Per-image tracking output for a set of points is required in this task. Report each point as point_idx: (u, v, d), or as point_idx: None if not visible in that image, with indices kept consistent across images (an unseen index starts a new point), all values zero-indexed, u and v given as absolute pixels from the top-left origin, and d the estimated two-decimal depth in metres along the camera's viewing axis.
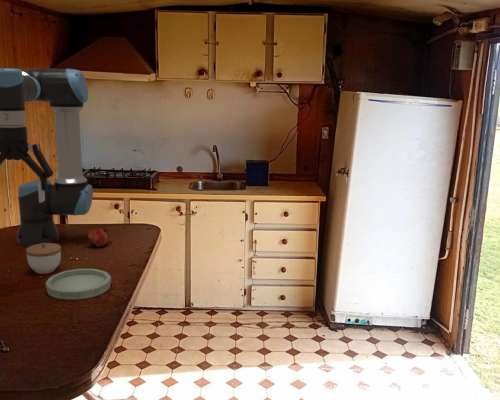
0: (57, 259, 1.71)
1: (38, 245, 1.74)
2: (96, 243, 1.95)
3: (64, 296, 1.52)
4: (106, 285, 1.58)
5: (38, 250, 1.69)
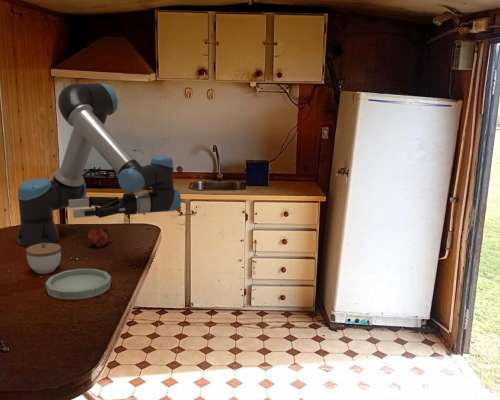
0: (57, 259, 1.71)
1: (38, 245, 1.74)
2: (96, 243, 1.95)
3: (64, 296, 1.52)
4: (106, 285, 1.58)
5: (38, 250, 1.69)
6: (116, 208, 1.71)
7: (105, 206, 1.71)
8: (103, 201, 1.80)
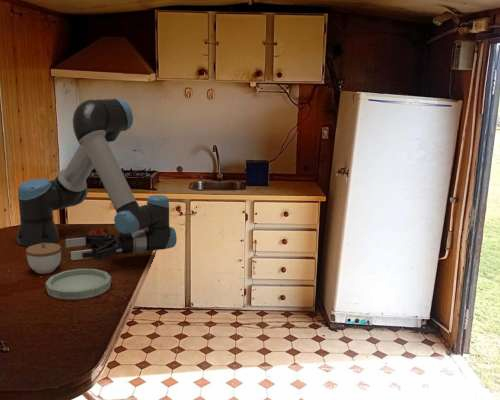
0: (57, 259, 1.71)
1: (38, 245, 1.74)
2: None
3: (64, 296, 1.52)
4: (106, 285, 1.58)
5: (38, 250, 1.69)
6: (113, 249, 1.74)
7: (102, 247, 1.74)
8: (100, 240, 1.83)
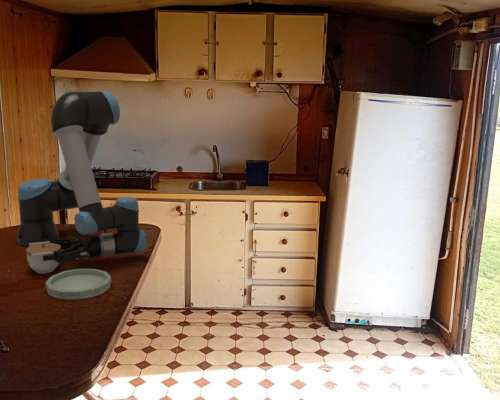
0: None
1: (38, 245, 1.74)
2: None
3: (64, 296, 1.52)
4: (106, 285, 1.58)
5: (38, 250, 1.69)
6: (77, 252, 1.70)
7: (65, 250, 1.70)
8: (66, 244, 1.78)
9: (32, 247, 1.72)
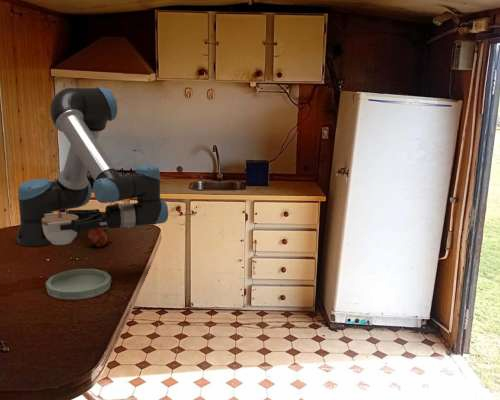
0: None
1: (54, 215, 1.63)
2: (96, 243, 1.95)
3: (64, 296, 1.52)
4: (106, 285, 1.58)
5: (55, 220, 1.58)
6: (96, 222, 1.59)
7: (84, 220, 1.59)
8: (84, 214, 1.67)
9: (48, 217, 1.61)
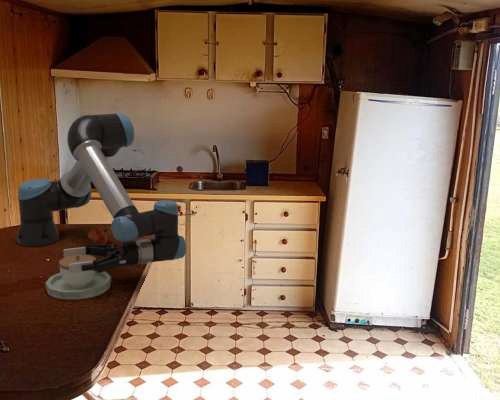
0: (92, 272, 1.58)
1: (71, 257, 1.61)
2: (96, 243, 1.95)
3: (64, 296, 1.52)
4: (106, 285, 1.58)
5: None
6: (116, 261, 1.56)
7: (104, 259, 1.56)
8: (101, 250, 1.65)
9: (65, 259, 1.58)
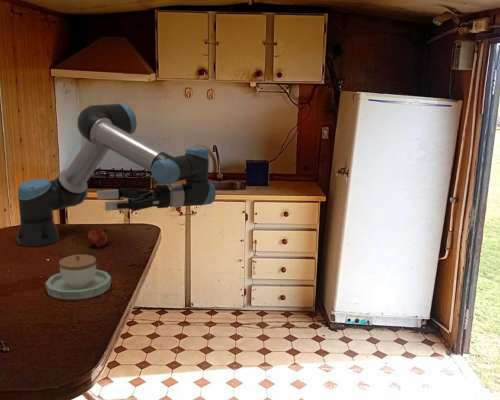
0: (92, 272, 1.58)
1: (71, 257, 1.61)
2: (96, 243, 1.95)
3: (64, 296, 1.52)
4: (106, 285, 1.58)
5: (73, 263, 1.56)
6: (150, 201, 1.60)
7: (138, 199, 1.60)
8: (134, 193, 1.69)
9: (65, 259, 1.58)
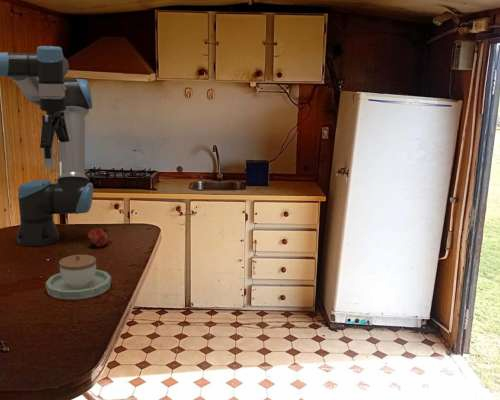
0: (92, 272, 1.58)
1: (71, 257, 1.61)
2: (96, 243, 1.95)
3: (64, 296, 1.52)
4: (106, 285, 1.58)
5: (73, 263, 1.56)
6: (44, 125, 1.58)
7: None
8: None
9: (65, 259, 1.58)
